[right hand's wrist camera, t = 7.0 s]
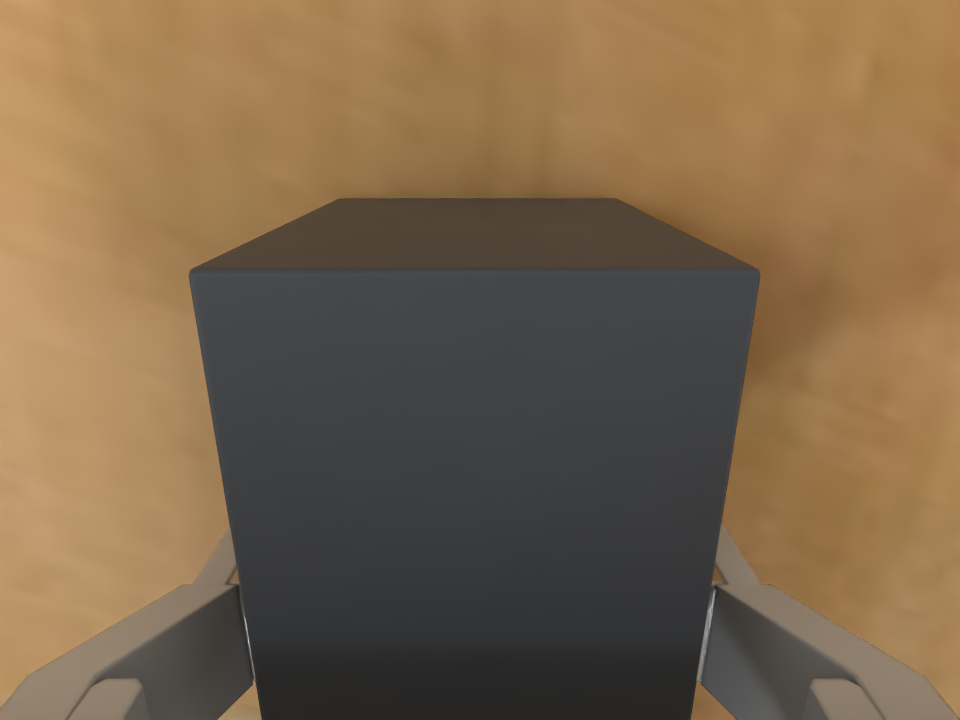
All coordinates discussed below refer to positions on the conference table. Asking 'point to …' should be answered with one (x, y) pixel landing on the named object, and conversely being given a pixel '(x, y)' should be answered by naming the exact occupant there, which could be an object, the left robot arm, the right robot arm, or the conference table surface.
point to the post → (475, 455)
